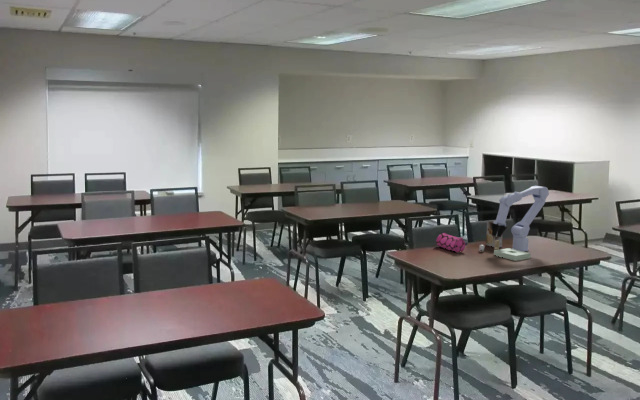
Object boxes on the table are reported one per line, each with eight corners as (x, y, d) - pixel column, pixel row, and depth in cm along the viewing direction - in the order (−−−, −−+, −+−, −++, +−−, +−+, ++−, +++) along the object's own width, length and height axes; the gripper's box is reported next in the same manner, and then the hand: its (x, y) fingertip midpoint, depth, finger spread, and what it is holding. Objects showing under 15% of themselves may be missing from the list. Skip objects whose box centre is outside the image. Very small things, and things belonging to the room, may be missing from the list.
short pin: (481, 250, 358) (481, 244, 358) (485, 251, 356) (485, 245, 355) (478, 251, 357) (478, 245, 356) (481, 252, 354) (482, 246, 354)
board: (508, 252, 354) (508, 248, 353) (530, 258, 341) (530, 253, 340) (493, 255, 346) (493, 250, 346) (515, 260, 333) (515, 255, 333)
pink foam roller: (467, 252, 353) (468, 236, 352) (455, 254, 349) (456, 238, 348) (445, 245, 372) (446, 230, 371) (433, 247, 368) (434, 231, 367)
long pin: (496, 250, 359) (496, 240, 358) (500, 251, 356) (500, 240, 355) (493, 251, 357) (493, 240, 356) (496, 252, 355) (497, 241, 354)
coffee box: (502, 247, 370) (503, 222, 368) (494, 247, 368) (496, 223, 365) (492, 244, 379) (494, 220, 376) (485, 245, 376) (486, 221, 374)
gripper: (501, 214, 361) (495, 235, 362) (491, 212, 351) (485, 233, 351) (511, 217, 357) (505, 238, 357) (502, 215, 346) (496, 236, 347)
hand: (496, 236), depth 354 cm, fingers open, 7 cm apart
